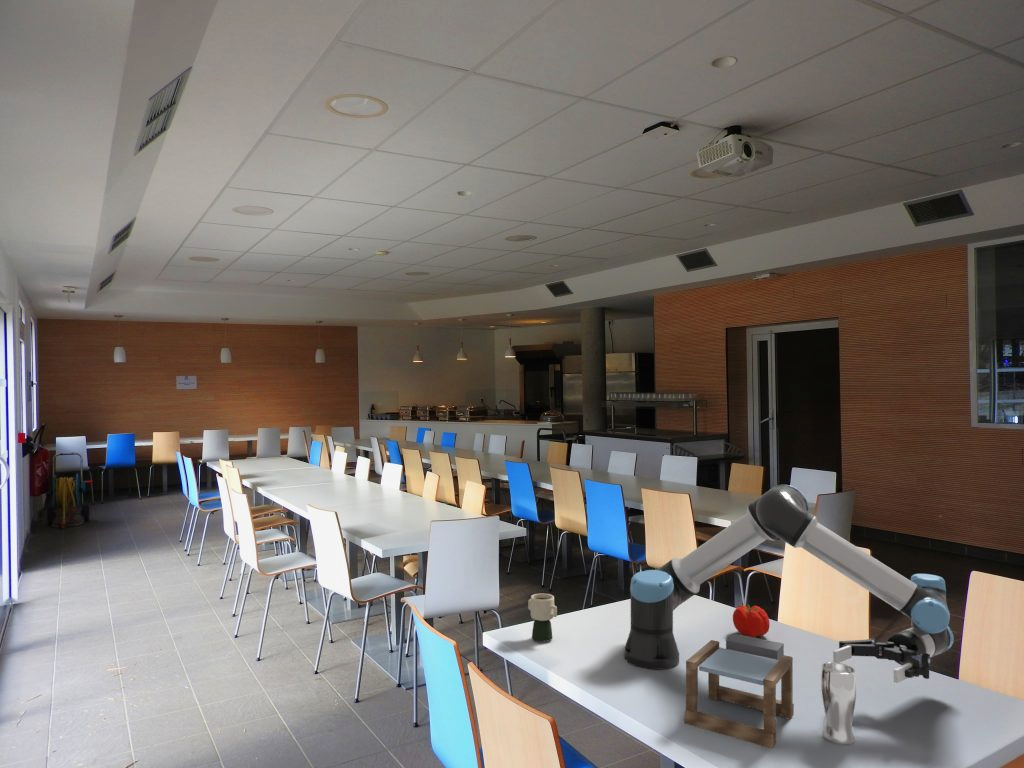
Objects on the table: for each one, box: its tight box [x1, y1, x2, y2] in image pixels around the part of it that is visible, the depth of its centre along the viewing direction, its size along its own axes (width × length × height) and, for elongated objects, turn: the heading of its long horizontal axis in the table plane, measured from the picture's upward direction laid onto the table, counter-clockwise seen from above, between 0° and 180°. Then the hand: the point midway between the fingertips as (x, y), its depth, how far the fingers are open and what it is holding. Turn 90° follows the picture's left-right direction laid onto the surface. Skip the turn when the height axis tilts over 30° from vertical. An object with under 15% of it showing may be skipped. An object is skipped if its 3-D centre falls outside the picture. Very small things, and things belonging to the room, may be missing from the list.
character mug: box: [527, 593, 558, 642], centre depth 207 cm, size 11×7×13 cm, turn 48°
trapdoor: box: [698, 633, 785, 686], centre depth 160 cm, size 14×22×4 cm, turn 145°
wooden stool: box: [683, 639, 795, 749], centre depth 157 cm, size 19×19×14 cm
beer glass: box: [820, 661, 857, 746], centre depth 148 cm, size 7×7×15 cm
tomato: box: [732, 604, 771, 638], centre depth 213 cm, size 11×11×9 cm
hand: (863, 666), depth 154 cm, fingers open, 13 cm apart
